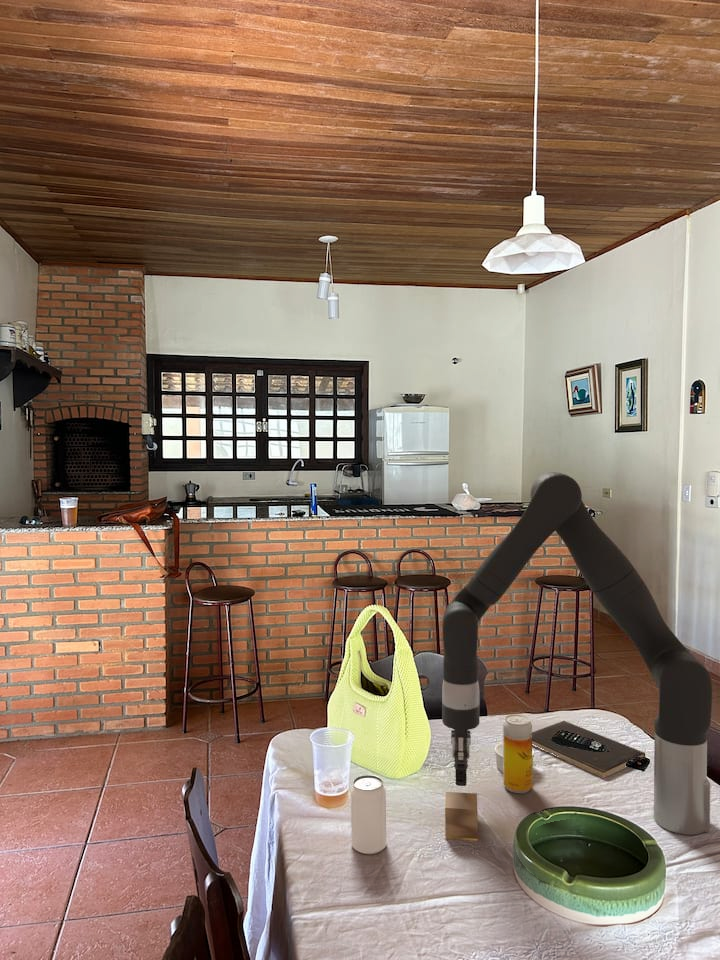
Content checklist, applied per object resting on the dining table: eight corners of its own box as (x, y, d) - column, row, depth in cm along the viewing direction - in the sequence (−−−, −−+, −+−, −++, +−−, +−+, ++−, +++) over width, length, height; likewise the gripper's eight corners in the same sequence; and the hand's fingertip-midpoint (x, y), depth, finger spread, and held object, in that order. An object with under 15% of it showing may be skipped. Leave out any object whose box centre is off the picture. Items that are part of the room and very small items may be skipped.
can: (361, 859, 122) (360, 794, 122) (345, 841, 128) (344, 778, 127) (392, 849, 125) (392, 785, 125) (375, 831, 131) (375, 770, 130)
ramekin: (539, 765, 157) (539, 746, 157) (526, 781, 150) (526, 762, 150) (502, 756, 162) (502, 738, 162) (488, 771, 155) (488, 752, 154)
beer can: (532, 795, 143) (532, 726, 143) (503, 793, 145) (503, 724, 144) (531, 781, 149) (531, 714, 149) (503, 779, 151) (502, 712, 150)
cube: (477, 823, 134) (476, 793, 133) (477, 841, 128) (477, 809, 127) (446, 821, 134) (445, 791, 134) (445, 838, 129) (445, 807, 128)
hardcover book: (603, 781, 150) (603, 771, 150) (523, 744, 169) (523, 735, 169) (645, 761, 159) (645, 751, 159) (565, 728, 178) (565, 719, 178)
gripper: (480, 714, 132) (480, 802, 133) (478, 690, 145) (478, 769, 146) (441, 712, 133) (441, 799, 134) (443, 688, 146) (443, 767, 147)
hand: (461, 783), depth 140 cm, fingers closed
